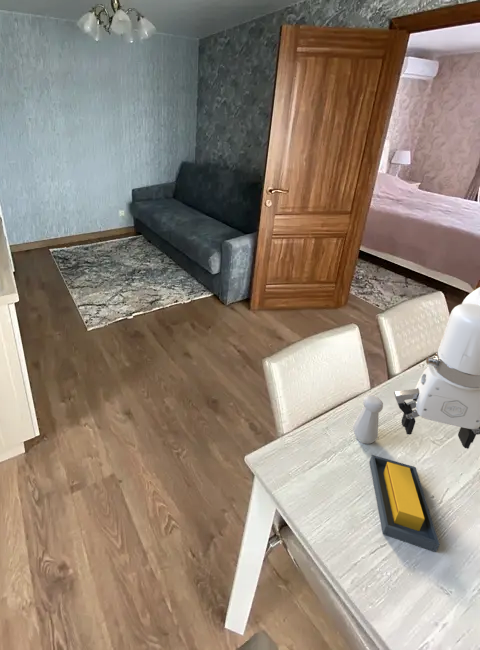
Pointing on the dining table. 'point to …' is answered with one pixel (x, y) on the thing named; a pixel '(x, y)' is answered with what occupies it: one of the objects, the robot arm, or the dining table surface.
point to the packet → (403, 496)
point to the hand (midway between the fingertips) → (434, 435)
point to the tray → (389, 528)
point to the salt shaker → (368, 420)
